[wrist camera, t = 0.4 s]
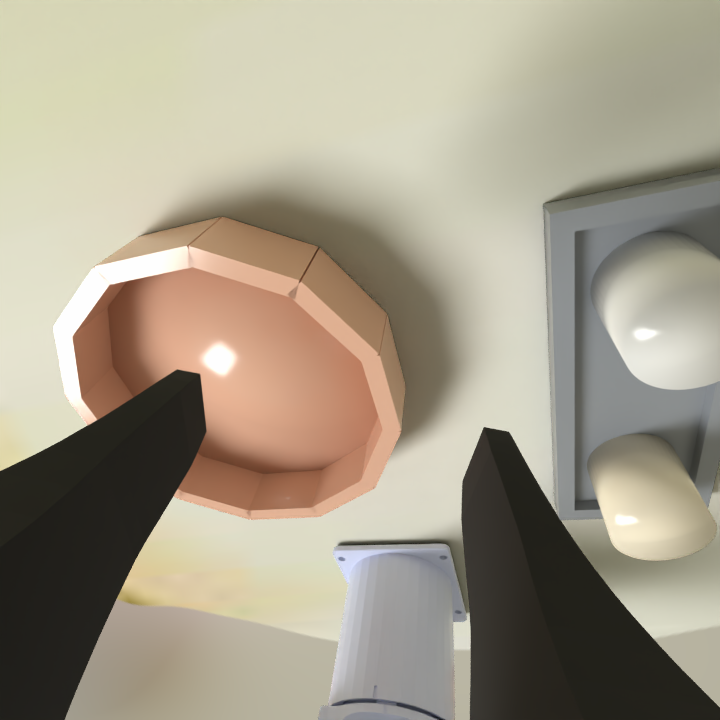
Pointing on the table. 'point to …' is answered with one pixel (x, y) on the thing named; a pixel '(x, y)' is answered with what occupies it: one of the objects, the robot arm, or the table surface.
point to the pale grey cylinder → (662, 308)
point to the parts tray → (596, 348)
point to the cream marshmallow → (648, 499)
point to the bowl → (244, 362)
